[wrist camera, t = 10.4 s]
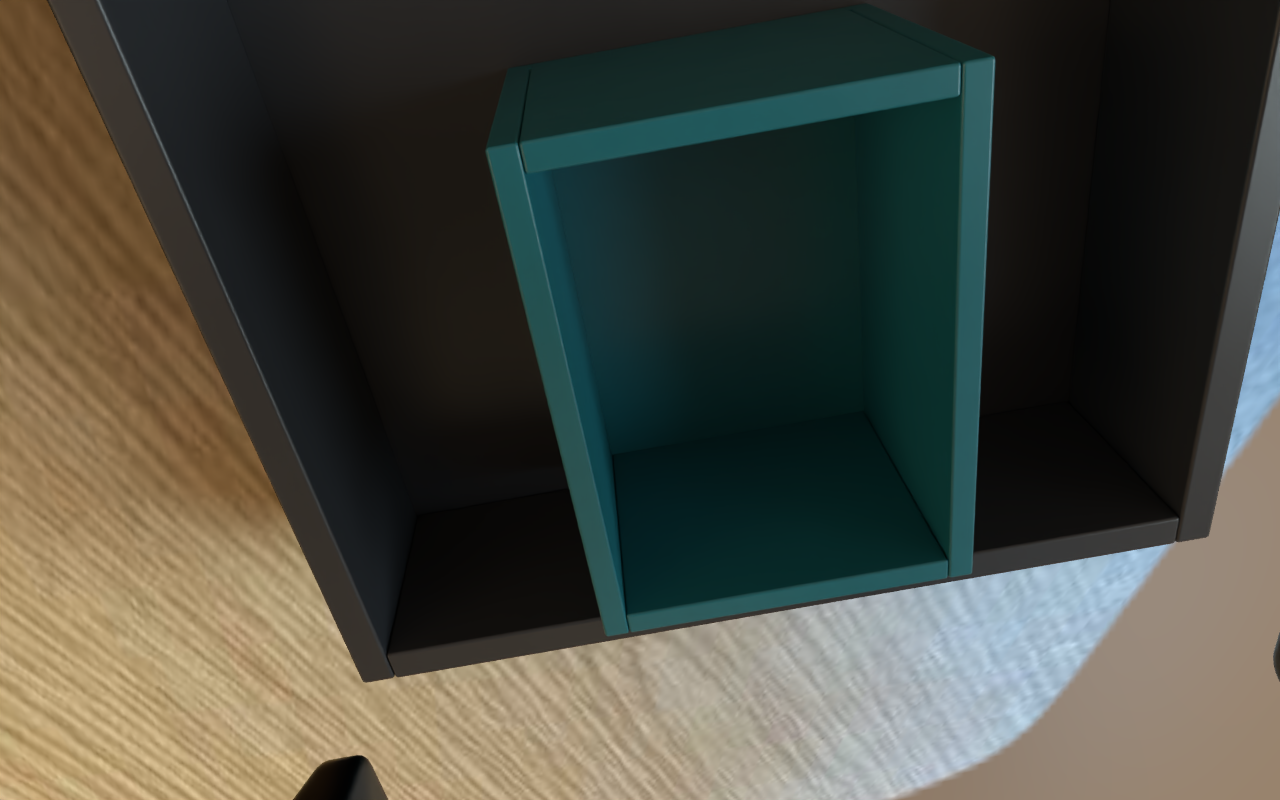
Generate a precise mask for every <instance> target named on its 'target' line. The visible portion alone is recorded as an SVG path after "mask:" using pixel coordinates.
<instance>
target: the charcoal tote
mask: <svg viewBox="0 0 1280 800" xmlns="http://www.w3.org/2000/svg"><path fill="white" fill-rule="evenodd" d="M47 1H48V3H49V5H50V7H51V10H52V12H53V14H54V16H55V18H56V20H57V23H58V25H59V27H60V29H61V31H62V33H63V35H64V38H65V40H66V42H67V44H68V46H69V48H70V51H71V53H72V55H73V57H74V59H75V61H76V63H77V66H78V68H79V70H80V72H81V74H82V76H83V79H84V81H85V83H86V85H87V87H88V89H89V92H90V94H91V96H92V98H93V100H94V102H95V104H96V107H97V109H98V111H99V113H100V115H101V117H102V120H103V122H104V124H105V126H106V128H107V130H108V133H109V135H110V137H111V139H112V141H113V143H114V145H115V148H116V150H117V152H118V154H119V156H120V158H121V161H122V163H123V165H124V167H125V169H126V171H127V174H128V176H129V178H130V180H131V182H132V184H133V186H134V189H135V191H136V193H137V195H138V197H139V199H140V202H141V204H142V206H143V208H144V210H145V212H146V214H147V217H148V219H149V221H150V223H151V225H152V227H153V230H154V232H155V234H156V236H157V238H158V240H159V243H160V245H161V247H162V249H163V251H164V253H165V255H166V258H167V260H168V262H169V264H170V266H171V268H172V271H173V273H174V275H175V277H176V279H177V281H178V284H179V286H180V288H181V290H182V292H183V294H184V296H185V299H186V301H187V303H188V305H189V307H190V309H191V312H192V314H193V316H194V318H195V320H196V322H197V324H198V327H199V329H200V331H201V333H202V335H203V337H204V340H205V342H206V344H207V346H208V348H209V350H210V353H211V355H212V357H213V359H214V361H215V363H216V365H217V368H218V370H219V372H220V374H221V376H222V378H223V381H224V383H225V385H226V387H227V389H228V391H229V394H230V396H231V398H232V400H233V402H234V404H235V406H236V409H237V411H238V413H239V415H240V417H241V419H242V422H243V424H244V426H245V428H246V430H247V432H248V434H249V437H250V439H251V441H252V443H253V445H254V447H255V450H256V452H257V454H258V456H259V458H260V460H261V463H262V465H263V467H264V469H265V471H266V473H267V475H268V478H269V480H270V482H271V484H272V486H273V488H274V491H275V493H276V495H277V497H278V499H279V501H280V504H281V506H282V508H283V510H284V512H285V514H286V516H287V519H288V521H289V523H290V525H291V527H292V529H293V532H294V534H295V536H296V538H297V540H298V542H299V544H300V547H301V549H302V551H303V553H304V555H305V557H306V560H307V562H308V564H309V566H310V568H311V570H312V573H313V575H314V577H315V579H316V581H317V583H318V585H319V588H320V590H321V592H322V594H323V596H324V598H325V601H326V603H327V605H328V607H329V609H330V611H331V614H332V616H333V618H334V620H335V622H336V624H337V626H338V629H339V631H340V633H341V635H342V637H343V639H344V642H345V644H346V646H347V648H348V650H349V652H350V654H351V657H352V659H353V661H354V663H355V665H356V667H357V670H358V672H359V674H360V676H361V678H362V680H363V682H373V681H378V680H384V679H390V678H393V677H394V676H395V675H396V677H403V676H409V675H415V674H420V673H426V672H432V671H438V670H444V669H449V668H455V667H461V666H467V665H472V664H478V663H484V662H490V661H496V660H501V659H507V658H513V657H519V656H524V655H530V654H536V653H542V652H547V651H553V650H559V649H565V648H571V647H576V646H582V645H588V644H594V643H599V642H605V641H611V640H617V639H623V638H628V637H634V636H640V635H646V634H651V633H657V632H663V631H669V630H675V629H680V628H686V627H692V626H698V625H703V624H709V623H715V622H721V621H726V620H732V619H738V618H744V617H750V616H755V615H761V614H767V613H773V612H778V611H784V610H790V609H796V608H802V607H807V606H813V605H819V604H825V603H830V602H836V601H842V600H848V599H854V598H859V597H865V596H871V595H877V594H882V593H888V592H894V591H900V590H905V589H911V588H917V587H923V586H929V585H934V584H940V583H946V582H952V581H957V580H963V579H969V578H975V577H981V576H986V575H992V574H998V573H1004V572H1009V571H1015V570H1021V569H1027V568H1033V567H1038V566H1044V565H1050V564H1056V563H1061V562H1067V561H1073V560H1079V559H1085V558H1090V557H1096V556H1102V555H1108V554H1113V553H1119V552H1125V551H1131V550H1136V549H1142V548H1148V547H1154V546H1160V545H1165V544H1171V543H1174V542H1175V541H1176V542H1182V541H1188V540H1194V539H1200V538H1206V537H1207V536H1208V535H1209V532H1210V527H1211V523H1212V518H1213V514H1214V509H1215V505H1216V500H1217V496H1218V491H1219V486H1220V482H1221V477H1222V473H1223V468H1224V463H1225V459H1226V454H1227V450H1228V445H1229V441H1230V436H1231V431H1232V427H1233V422H1234V418H1235V413H1236V408H1237V404H1238V399H1239V395H1240V390H1241V386H1242V381H1243V376H1244V372H1245V367H1246V363H1247V358H1248V353H1249V349H1250V344H1251V340H1252V335H1253V331H1254V326H1255V321H1256V317H1257V312H1258V308H1259V303H1260V299H1261V294H1262V289H1263V285H1264V280H1265V276H1266V271H1267V266H1268V262H1269V257H1270V253H1271V248H1272V244H1273V239H1274V234H1275V230H1276V225H1277V221H1278V216H1279V211H1280V0H47ZM865 3H868V4H870V5H873V6H875V7H877V8H880V9H882V10H885V11H887V12H889V13H892V14H894V15H897V16H899V17H901V18H904V19H906V20H908V21H911V22H913V23H916V24H918V25H920V26H923V27H925V28H928V29H930V30H932V31H935V32H937V33H940V34H942V35H944V36H947V37H949V38H951V39H954V40H956V41H959V42H961V43H963V44H966V45H968V46H971V47H973V48H975V49H978V50H980V51H983V52H985V53H987V54H990V55H992V56H994V57H995V80H994V103H993V125H992V147H991V169H990V191H989V213H988V235H987V257H986V279H985V301H984V323H983V345H982V367H981V389H980V411H979V433H978V456H977V478H976V500H975V522H974V544H973V566H972V573H971V574H969V575H963V576H957V577H949V576H948V577H947V578H945V579H939V580H934V581H928V582H922V583H916V584H910V585H905V586H899V587H893V588H887V589H881V590H875V591H870V592H864V593H858V594H852V595H846V596H840V597H835V598H829V599H823V600H817V601H811V602H806V603H800V604H794V605H788V606H782V607H776V608H771V609H765V610H759V611H753V612H747V613H742V614H736V615H730V616H724V617H718V618H712V619H707V620H701V621H695V622H689V623H683V624H678V625H672V626H666V627H660V628H654V629H648V630H643V631H637V632H631V631H630V630H629V632H628V633H625V634H619V635H614V636H606V635H605V632H604V628H603V624H602V620H601V616H600V612H599V608H598V604H597V600H596V596H595V592H594V588H593V584H592V580H591V576H590V572H589V568H588V564H587V560H586V555H585V551H584V547H583V543H582V539H581V535H580V531H579V527H578V523H577V519H576V515H575V511H574V507H573V503H572V499H571V495H570V491H569V487H568V483H567V479H566V475H565V471H564V467H563V463H562V459H561V455H560V451H559V447H558V443H557V439H556V435H555V431H554V427H553V423H552V418H551V414H550V410H549V406H548V402H547V398H546V394H545V390H544V386H543V382H542V378H541V374H540V370H539V366H538V362H537V358H536V354H535V350H534V346H533V342H532V338H531V334H530V330H529V326H528V322H527V318H526V314H525V310H524V306H523V302H522V298H521V294H520V290H519V286H518V282H517V277H516V273H515V269H514V265H513V261H512V257H511V253H510V249H509V245H508V241H507V237H506V233H505V229H504V225H503V221H502V217H501V213H500V209H499V205H498V201H497V197H496V193H495V189H494V185H493V181H492V177H491V173H490V169H489V165H488V161H487V157H486V153H485V150H486V145H487V142H488V138H489V135H490V131H491V127H492V124H493V120H494V117H495V113H496V109H497V106H498V102H499V99H500V95H501V91H502V88H503V84H504V81H505V77H506V73H507V70H508V69H509V68H513V67H518V66H524V65H529V64H535V63H540V62H546V61H551V60H557V59H562V58H568V57H573V56H579V55H584V54H590V53H595V52H601V51H606V50H612V49H617V48H623V47H628V46H634V45H639V44H645V43H650V42H656V41H661V40H667V39H672V38H678V37H683V36H689V35H694V34H700V33H705V32H711V31H716V30H722V29H727V28H733V27H738V26H744V25H749V24H755V23H760V22H766V21H771V20H777V19H782V18H788V17H793V16H799V15H804V14H810V13H815V12H821V11H826V10H832V9H837V8H843V7H848V6H854V5H859V4H865Z"/></svg>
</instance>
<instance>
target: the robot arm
mask: <svg viewBox="0 0 1280 800" xmlns="http://www.w3.org/2000/svg"><path fill="white" fill-rule="evenodd" d="M1273 660H1274V667H1275V671H1276V674H1277V676H1278V679H1279V681H1280V633H1279V636H1278V641H1277V643H1276V647H1275V650H1274V655H1273ZM293 800H388V798H387V796H386V794H385V792H384V790H383V788H382V786H381V784H380V782H379V779H378V777H377V775H376V773H375V771H374V769H373V767H372V765H371V763H370V762H369V760H368V759H367V758H365V757H364V756H362V755H356V756H350V757H344V758H338V759H333V760H328V761H325V762H324V763H322V764H321V765H320V766H319V767H317V769H316V770H315V771H314V772H313V774H312V775H311V776H310V778H309V779H308V780H307V782H306V783H305V784H304V786H303V787H302V788H301V790H300V791H299V792H298V794H297V795H296V796H295V798H294V799H293Z"/></svg>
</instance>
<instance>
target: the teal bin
mask: <svg viewBox="0 0 1280 800" xmlns="http://www.w3.org/2000/svg"><path fill="white" fill-rule="evenodd" d="M994 80H995V57H994V56H992V55H990V54H987V53H985V52H983V51H980V50H978V49H975V48H973V47H971V46H968V45H966V44H963V43H961V42H959V41H956V40H954V39H951V38H949V37H947V36H944V35H942V34H940V33H937V32H935V31H932V30H930V29H928V28H925V27H923V26H920V25H918V24H916V23H913V22H911V21H908V20H906V19H904V18H901V17H899V16H897V15H894V14H892V13H889V12H887V11H885V10H882V9H880V8H877V7H875V6H873V5H870V4H868V3H865V4H859V5H854V6H848V7H843V8H837V9H832V10H826V11H821V12H815V13H810V14H804V15H799V16H793V17H788V18H782V19H777V20H771V21H766V22H760V23H755V24H749V25H744V26H738V27H733V28H727V29H722V30H716V31H711V32H705V33H700V34H694V35H689V36H683V37H678V38H672V39H667V40H661V41H656V42H650V43H645V44H639V45H634V46H628V47H623V48H617V49H612V50H606V51H601V52H595V53H590V54H584V55H579V56H573V57H568V58H562V59H557V60H551V61H546V62H540V63H535V64H529V65H524V66H518V67H513V68H509V69H508V70H507V73H506V77H505V81H504V84H503V88H502V91H501V95H500V99H499V102H498V106H497V109H496V113H495V117H494V120H493V124H492V127H491V131H490V135H489V138H488V142H487V145H486V150H485V153H486V157H487V161H488V165H489V169H490V173H491V177H492V181H493V185H494V189H495V193H496V197H497V201H498V205H499V209H500V213H501V217H502V221H503V225H504V229H505V233H506V237H507V241H508V245H509V249H510V253H511V257H512V261H513V265H514V269H515V273H516V277H517V282H518V286H519V290H520V294H521V298H522V302H523V306H524V310H525V314H526V318H527V322H528V326H529V330H530V334H531V338H532V342H533V346H534V350H535V354H536V358H537V362H538V366H539V370H540V374H541V378H542V382H543V386H544V390H545V394H546V398H547V402H548V406H549V410H550V414H551V418H552V423H553V427H554V431H555V435H556V439H557V443H558V447H559V451H560V455H561V459H562V463H563V467H564V471H565V475H566V479H567V483H568V487H569V491H570V495H571V499H572V503H573V507H574V511H575V515H576V519H577V523H578V527H579V531H580V535H581V539H582V543H583V547H584V551H585V555H586V560H587V564H588V568H589V572H590V576H591V580H592V584H593V588H594V592H595V596H596V600H597V604H598V608H599V612H600V616H601V620H602V624H603V628H604V632H605V635H606V636H614V635H619V634H625V633H628V632H629V630H630V631H631V632H637V631H643V630H648V629H654V628H660V627H666V626H672V625H678V624H683V623H689V622H695V621H701V620H707V619H712V618H718V617H724V616H730V615H736V614H742V613H747V612H753V611H759V610H765V609H771V608H776V607H782V606H788V605H794V604H800V603H806V602H811V601H817V600H823V599H829V598H835V597H840V596H846V595H852V594H858V593H864V592H870V591H875V590H881V589H887V588H893V587H899V586H905V585H910V584H916V583H922V582H928V581H934V580H939V579H945V578H947V577H948V576H949V577H957V576H963V575H969V574H971V573H972V566H973V544H974V522H975V500H976V478H977V456H978V433H979V411H980V389H981V367H982V345H983V323H984V301H985V279H986V257H987V235H988V213H989V191H990V169H991V147H992V125H993V103H994Z"/></svg>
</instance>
